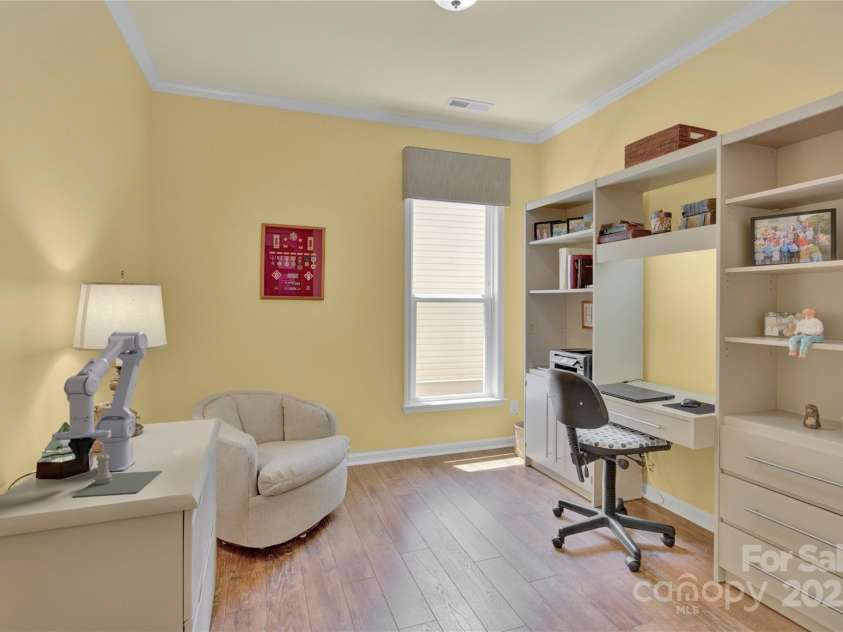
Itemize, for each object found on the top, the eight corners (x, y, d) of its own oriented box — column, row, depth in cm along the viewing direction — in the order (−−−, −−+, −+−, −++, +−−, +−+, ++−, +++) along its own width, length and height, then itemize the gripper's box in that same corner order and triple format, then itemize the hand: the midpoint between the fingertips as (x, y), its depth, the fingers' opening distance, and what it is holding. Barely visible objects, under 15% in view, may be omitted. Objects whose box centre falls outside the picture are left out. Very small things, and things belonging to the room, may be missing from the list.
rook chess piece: (115, 479, 140) (115, 452, 139) (106, 485, 135) (105, 457, 135) (100, 479, 139) (99, 452, 139) (90, 485, 135) (89, 457, 135)
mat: (105, 475, 145) (105, 474, 145) (161, 471, 147) (161, 470, 147) (72, 497, 127) (72, 496, 127) (137, 493, 130) (137, 492, 130)
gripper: (45, 421, 131) (45, 470, 131) (102, 418, 133) (103, 467, 134) (60, 415, 138) (60, 462, 138) (114, 413, 140) (114, 459, 140)
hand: (82, 464), depth 136 cm, fingers closed
